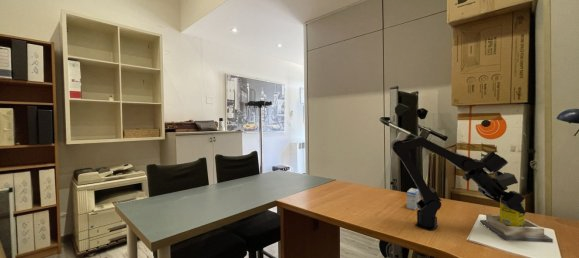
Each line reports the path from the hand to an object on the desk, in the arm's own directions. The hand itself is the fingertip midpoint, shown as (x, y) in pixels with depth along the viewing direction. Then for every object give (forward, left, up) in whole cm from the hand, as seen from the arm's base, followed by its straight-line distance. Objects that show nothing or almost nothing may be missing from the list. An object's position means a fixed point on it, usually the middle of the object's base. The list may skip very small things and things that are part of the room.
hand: (516, 209), depth 94 cm
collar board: (-1, -1, -9) cm, 9 cm away
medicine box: (-39, -2, -9) cm, 40 cm away
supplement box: (-1, -1, -7) cm, 7 cm away
